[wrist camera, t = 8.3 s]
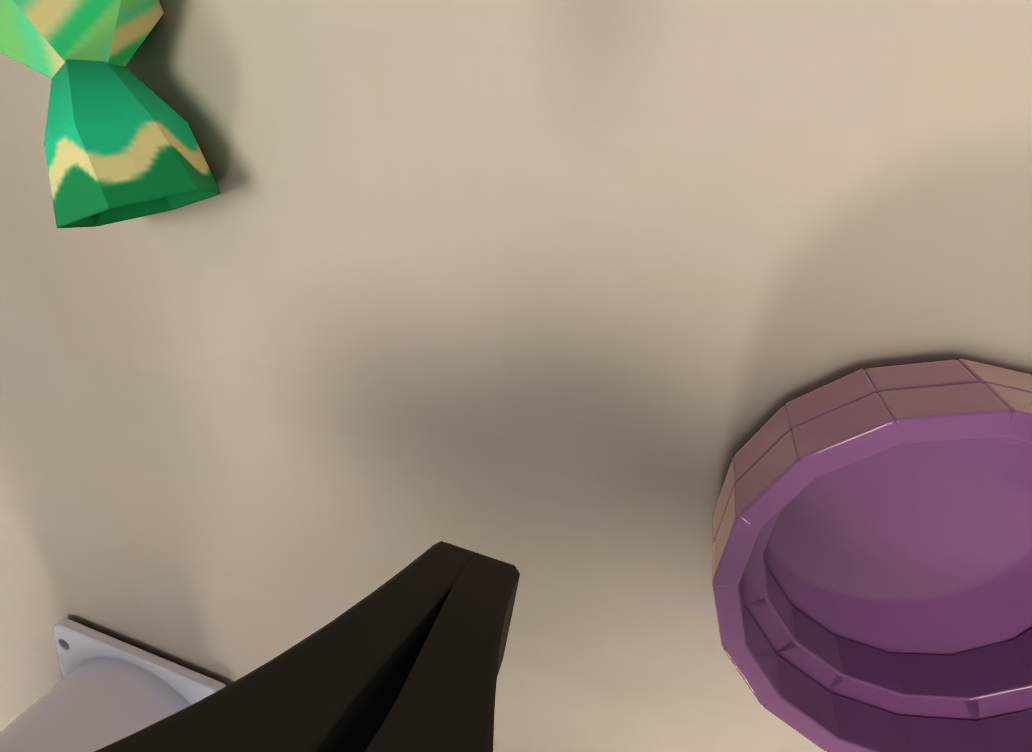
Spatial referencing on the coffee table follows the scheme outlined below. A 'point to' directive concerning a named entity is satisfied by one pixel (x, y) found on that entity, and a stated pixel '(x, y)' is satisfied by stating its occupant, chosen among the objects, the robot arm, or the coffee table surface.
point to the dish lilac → (886, 560)
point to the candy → (104, 112)
